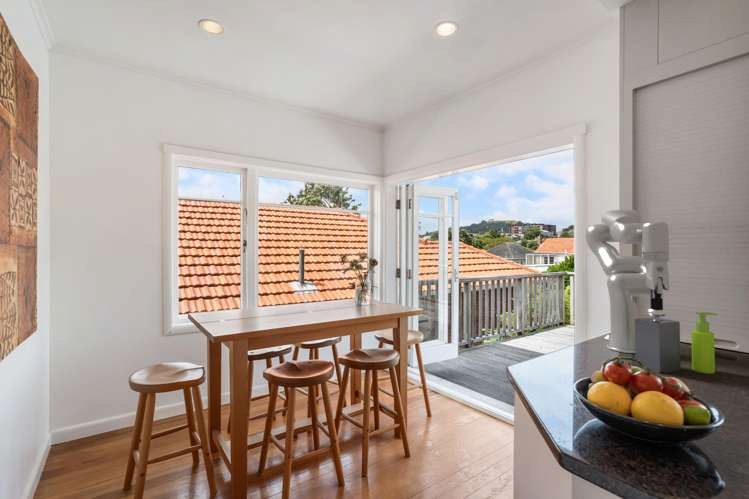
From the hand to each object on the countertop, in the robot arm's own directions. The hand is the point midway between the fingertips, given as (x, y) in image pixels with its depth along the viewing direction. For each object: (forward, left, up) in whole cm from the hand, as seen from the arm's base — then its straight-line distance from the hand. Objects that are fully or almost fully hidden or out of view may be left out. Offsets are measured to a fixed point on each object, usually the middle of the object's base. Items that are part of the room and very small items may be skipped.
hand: (656, 309), depth 131 cm
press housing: (0, 0, -21) cm, 21 cm away
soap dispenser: (+7, +12, -21) cm, 25 cm away
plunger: (0, 0, -19) cm, 19 cm away
